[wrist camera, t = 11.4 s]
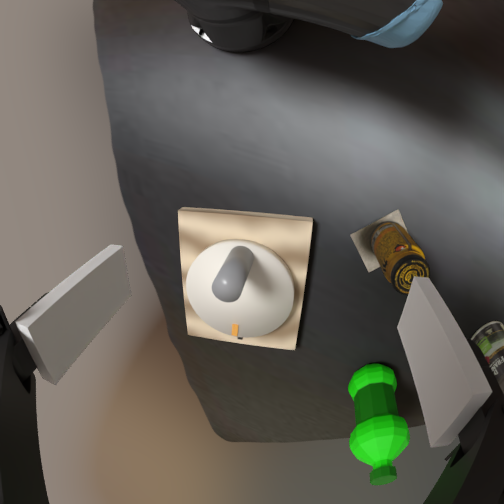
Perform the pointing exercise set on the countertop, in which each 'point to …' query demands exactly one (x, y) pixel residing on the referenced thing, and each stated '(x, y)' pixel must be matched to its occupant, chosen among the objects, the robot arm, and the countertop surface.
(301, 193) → the countertop surface
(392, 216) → the condiment
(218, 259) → the dial
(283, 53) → the countertop surface
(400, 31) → the robot arm
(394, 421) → the plastic bottle
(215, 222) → the dial panel
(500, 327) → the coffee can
